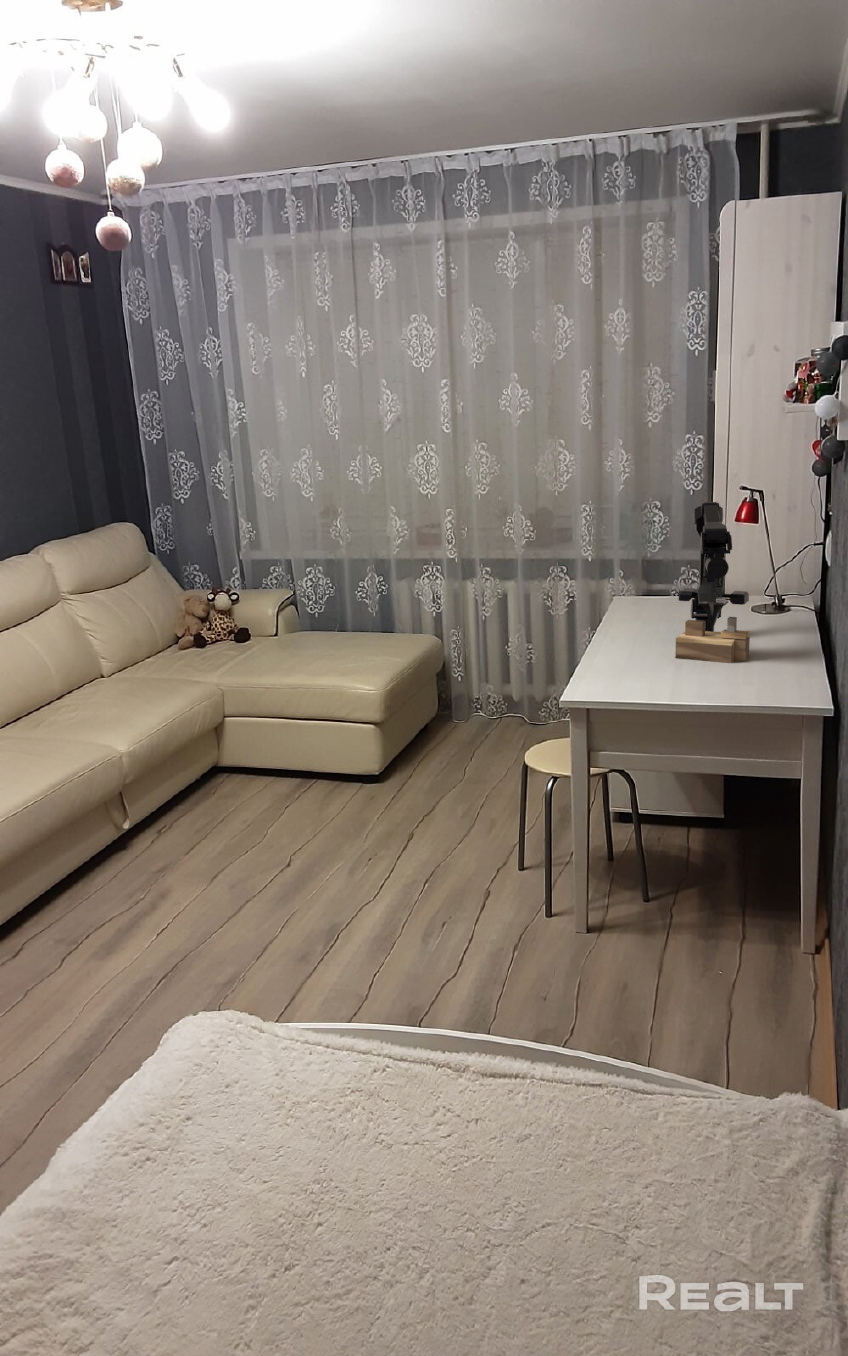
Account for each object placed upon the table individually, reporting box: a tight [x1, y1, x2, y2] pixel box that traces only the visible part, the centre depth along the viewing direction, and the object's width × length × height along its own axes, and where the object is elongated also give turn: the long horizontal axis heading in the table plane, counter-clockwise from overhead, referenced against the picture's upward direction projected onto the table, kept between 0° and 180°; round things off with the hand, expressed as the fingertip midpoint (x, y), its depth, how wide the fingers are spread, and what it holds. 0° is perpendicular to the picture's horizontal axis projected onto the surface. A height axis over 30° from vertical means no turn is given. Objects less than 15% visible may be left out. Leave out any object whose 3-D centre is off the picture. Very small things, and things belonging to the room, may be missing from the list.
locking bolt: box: [721, 616, 750, 639], centre depth 300 cm, size 4×7×6 cm, turn 60°
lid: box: [675, 619, 735, 646], centre depth 304 cm, size 11×16×5 cm
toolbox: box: [674, 636, 751, 664], centre depth 305 cm, size 11×19×6 cm, turn 60°
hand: (712, 625), depth 303 cm, fingers closed
